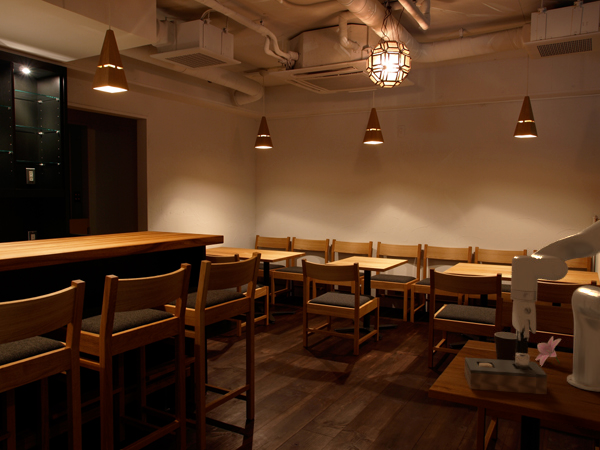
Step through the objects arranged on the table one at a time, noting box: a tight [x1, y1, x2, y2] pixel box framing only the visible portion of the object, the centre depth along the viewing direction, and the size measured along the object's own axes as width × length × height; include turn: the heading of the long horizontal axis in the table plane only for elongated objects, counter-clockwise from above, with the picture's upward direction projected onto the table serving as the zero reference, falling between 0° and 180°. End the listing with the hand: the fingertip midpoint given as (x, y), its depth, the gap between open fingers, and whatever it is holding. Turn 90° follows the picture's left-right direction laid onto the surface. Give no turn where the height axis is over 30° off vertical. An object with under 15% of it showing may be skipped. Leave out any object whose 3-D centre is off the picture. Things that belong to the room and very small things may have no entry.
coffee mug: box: [494, 331, 517, 361], centre depth 174 cm, size 12×9×10 cm
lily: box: [535, 336, 562, 367], centre depth 172 cm, size 12×12×10 cm
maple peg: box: [479, 363, 492, 368], centre depth 153 cm, size 4×4×6 cm
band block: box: [464, 357, 548, 395], centre depth 152 cm, size 22×12×6 cm, turn 79°
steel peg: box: [515, 353, 530, 370], centre depth 151 cm, size 4×4×6 cm
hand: (521, 352), depth 151 cm, fingers closed
